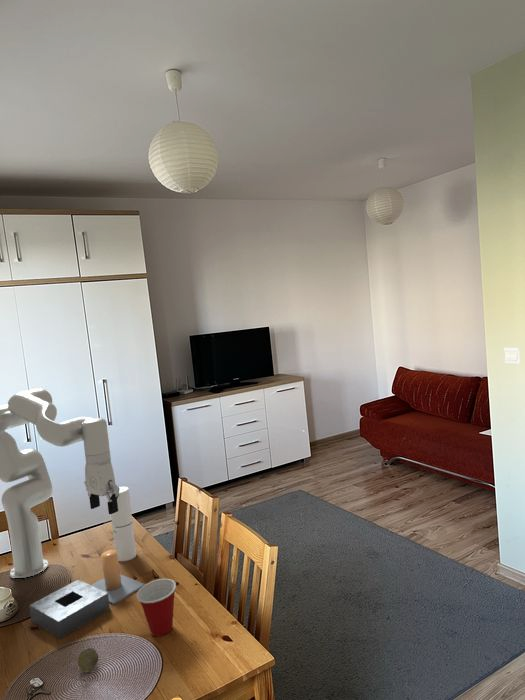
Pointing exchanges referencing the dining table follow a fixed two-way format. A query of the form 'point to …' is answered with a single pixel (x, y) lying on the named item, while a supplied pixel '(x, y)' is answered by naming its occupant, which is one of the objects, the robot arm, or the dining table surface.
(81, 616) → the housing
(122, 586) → the mat
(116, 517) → the cylindrical container
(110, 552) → the orange rounded cylinder
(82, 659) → the lime
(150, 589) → the plastic cup
